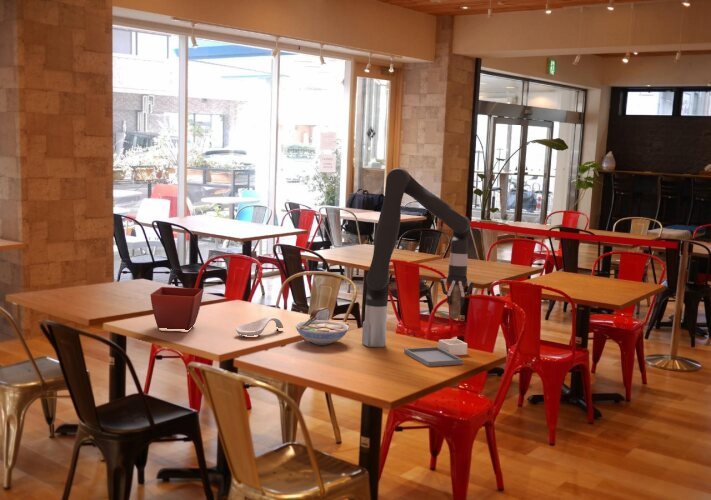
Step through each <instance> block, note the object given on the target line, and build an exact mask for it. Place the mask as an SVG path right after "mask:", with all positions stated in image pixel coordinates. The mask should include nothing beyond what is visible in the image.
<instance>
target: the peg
mask: <svg viewBox="0 0 711 500" xmlns="http://www.w3.org/2000/svg"><path fill="white" fill-rule="evenodd" d="M461 289H462V288H461ZM450 295H451V300H450V305H449V315H448V317H449V318H451V319H454V320H455V319H460V318H461V307H462V306H461V296H462V295H461V291H460V287H459V285H455V284H454V288H453V289H452V292H451V294H450Z"/></svg>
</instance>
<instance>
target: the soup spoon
mask: <svg viewBox="0 0 711 500" xmlns="http://www.w3.org/2000/svg"><path fill="white" fill-rule="evenodd" d="M330 315H331V310H330V309H329V308H328V307H325V306H320V307H317V308H314V309H313V310H312V311H311V312H310V316H309V319H310V318H311V317H313V318H312V319H314V318H315V317H317V319H315V320H323V321H328V320H329V321H330ZM312 319H311V320H312ZM311 320H310V321H311Z"/></svg>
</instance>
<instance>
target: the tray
mask: <svg viewBox="0 0 711 500" xmlns="http://www.w3.org/2000/svg"><path fill="white" fill-rule="evenodd" d="M403 353H404V355H407V356H409V357H410V358H412V359H415V360H416V361H417V362H420V363H422V364H424V365H425V366H426V367H440V366H441V367H442V366H454V365H456V366H457V365H463V363H464V359H462V358H460V357H459V356H458V355H453V354H451V353H449V352H447V351H445V350H443V349H441V348H439V346H427V347H426V346H425V347H413V348H411V347H410V348H404V349H403Z"/></svg>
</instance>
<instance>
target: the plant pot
mask: <svg viewBox="0 0 711 500" xmlns="http://www.w3.org/2000/svg"><path fill="white" fill-rule="evenodd" d="M203 293H204V289H202V288H192V287H190V288H188V287H172V286H171V287H170V286H161V287H159V288H157V289H156V290H155V291H152V292H151V293H150V294H149V295H150V301H151V302H150V303H151V307H152V312H153V316H154V319H155V322H156V326H157V329H158V328H167V329H185V330H189V329H190V328H191V327H192V326H193V325H194V324H196V322H197V319H198V315H199V313H200V308H201V305H202V300H203ZM194 326H195V325H194Z"/></svg>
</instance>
